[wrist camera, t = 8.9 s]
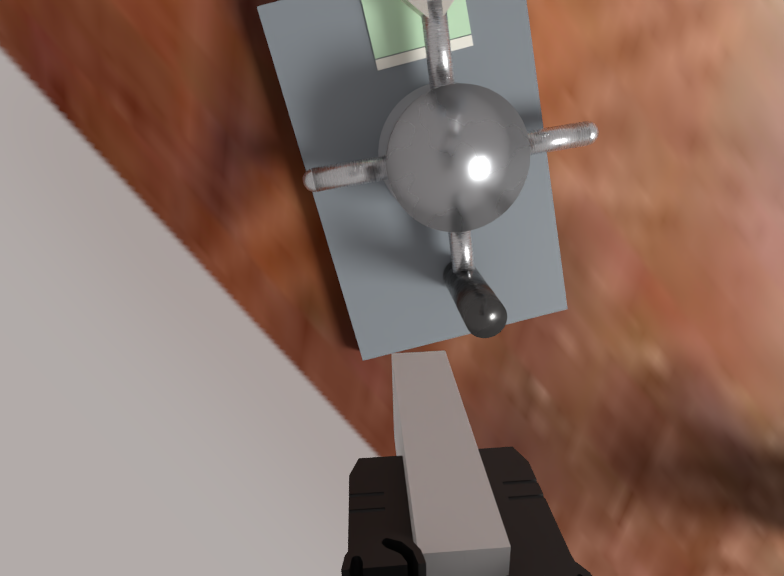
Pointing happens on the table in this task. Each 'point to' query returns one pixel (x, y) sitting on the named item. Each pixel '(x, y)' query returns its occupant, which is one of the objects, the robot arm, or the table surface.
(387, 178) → the cam capstan
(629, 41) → the table surface
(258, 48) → the table surface
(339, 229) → the stand plate
